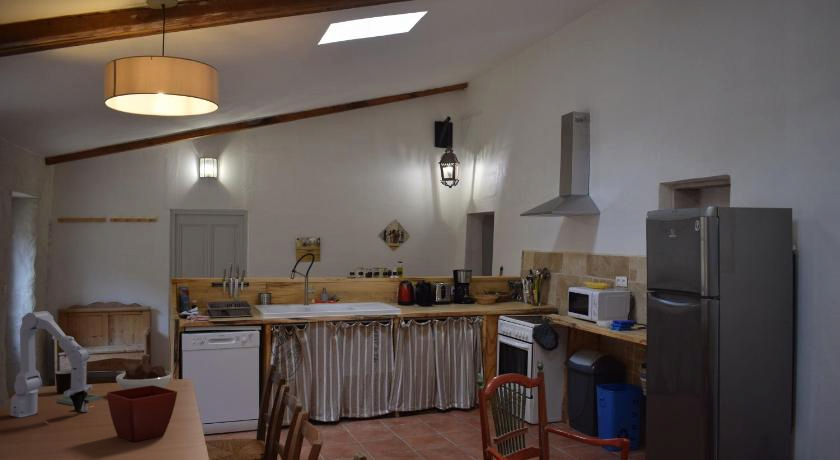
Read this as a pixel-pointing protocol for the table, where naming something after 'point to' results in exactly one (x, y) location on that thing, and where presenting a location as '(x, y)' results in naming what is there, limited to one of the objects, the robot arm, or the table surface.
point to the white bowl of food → (144, 377)
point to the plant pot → (141, 411)
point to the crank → (84, 406)
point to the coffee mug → (63, 381)
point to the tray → (68, 401)
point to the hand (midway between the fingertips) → (78, 410)
